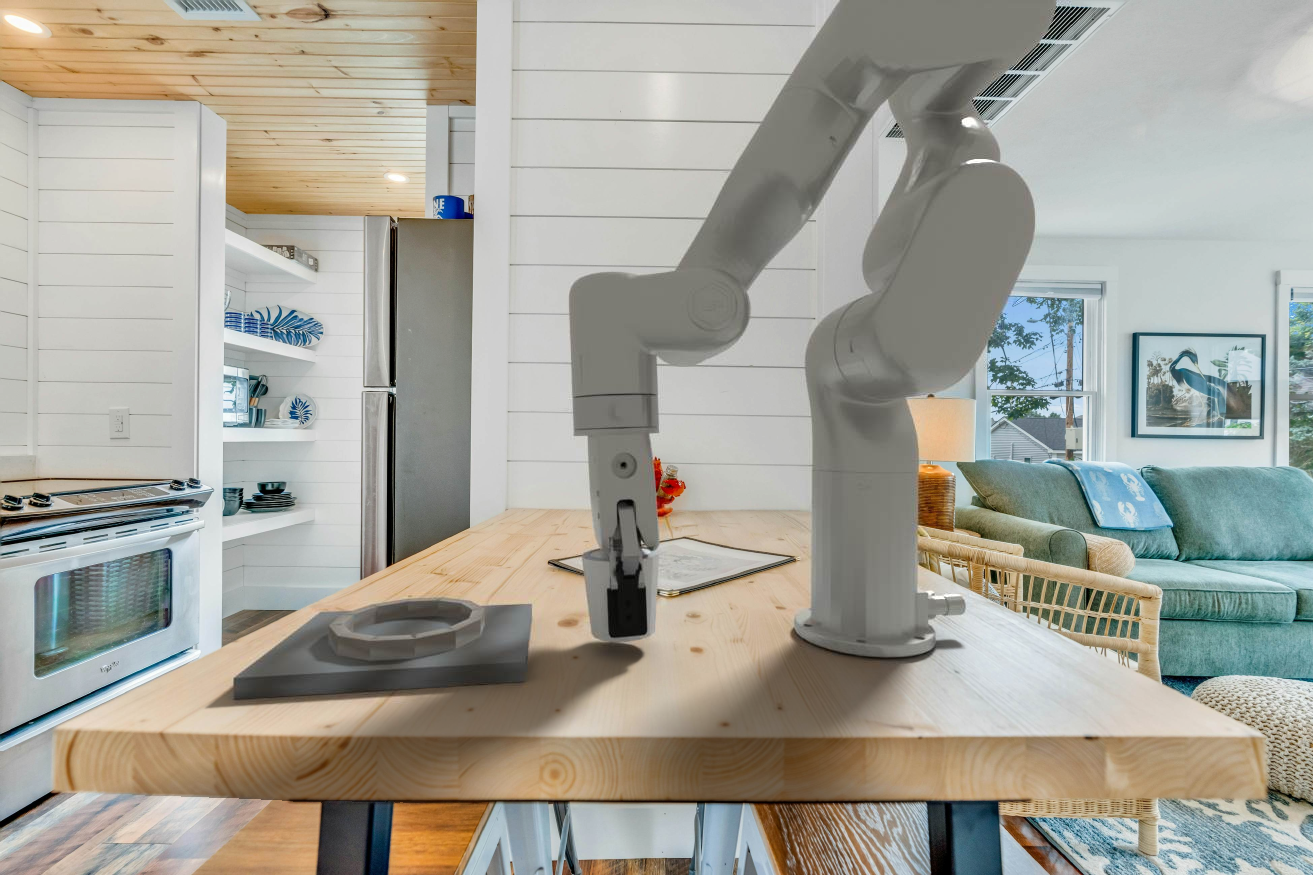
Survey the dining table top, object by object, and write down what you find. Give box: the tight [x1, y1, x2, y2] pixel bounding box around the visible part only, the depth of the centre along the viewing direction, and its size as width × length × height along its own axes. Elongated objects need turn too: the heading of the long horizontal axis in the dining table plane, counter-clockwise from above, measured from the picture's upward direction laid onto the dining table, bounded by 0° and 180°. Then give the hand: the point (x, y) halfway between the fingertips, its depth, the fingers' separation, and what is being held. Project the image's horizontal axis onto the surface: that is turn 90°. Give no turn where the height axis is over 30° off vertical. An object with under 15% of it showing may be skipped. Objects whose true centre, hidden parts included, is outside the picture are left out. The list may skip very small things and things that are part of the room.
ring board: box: [232, 596, 533, 700], centre depth 52 cm, size 20×16×3 cm
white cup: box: [581, 545, 660, 643], centre depth 53 cm, size 7×7×7 cm
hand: (623, 621), depth 53 cm, fingers closed on white cup, 5 cm apart
